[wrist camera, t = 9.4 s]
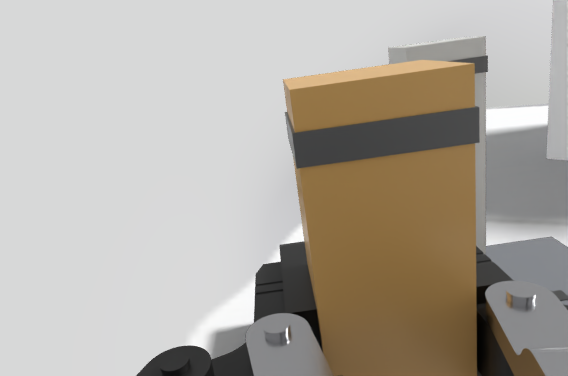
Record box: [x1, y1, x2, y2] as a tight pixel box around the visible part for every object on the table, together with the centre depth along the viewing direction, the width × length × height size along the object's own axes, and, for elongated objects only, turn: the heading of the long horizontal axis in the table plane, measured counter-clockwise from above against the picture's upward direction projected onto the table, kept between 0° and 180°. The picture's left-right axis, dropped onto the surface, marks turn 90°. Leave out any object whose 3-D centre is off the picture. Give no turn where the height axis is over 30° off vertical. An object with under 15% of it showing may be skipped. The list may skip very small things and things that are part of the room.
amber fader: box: [283, 60, 480, 376], centre depth 10 cm, size 3×3×12 cm
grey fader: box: [388, 36, 488, 254], centre depth 20 cm, size 3×3×12 cm
